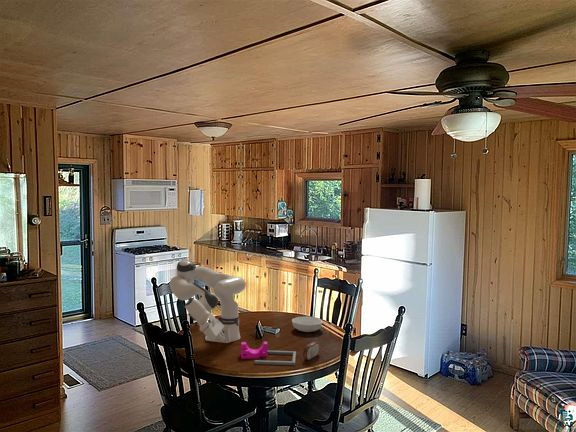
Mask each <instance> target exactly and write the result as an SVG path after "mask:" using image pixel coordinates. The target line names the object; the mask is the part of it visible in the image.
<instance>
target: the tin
mask: <svg viewBox="0 0 576 432" xmlns="http://www.w3.org/2000/svg"><path fill="white" fill-rule="evenodd" d="M319 352H320V343H319V342H318V341H315V340H314V341H311V342H310V343H308V344H306V345H305V346H304V348H303V351H302V357H303V359H304V360H306V361H307V360H309V361H310V360H311V359H313V358H315V357H317V355H318V354H319Z"/></svg>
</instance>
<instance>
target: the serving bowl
mask: <svg viewBox="0 0 576 432" xmlns="http://www.w3.org/2000/svg"><path fill="white" fill-rule="evenodd" d="M291 322H292V326H293V327H294V329H296V330H297V331H298V332H299V331H300V332H304V333H311V332H316V331H318V330H320V328H321V327H322V326H323V325H322V324H323V320H322V319H320V318H318V317H315V316H297V317H295V318H292V319H291Z"/></svg>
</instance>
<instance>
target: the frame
mask: <svg viewBox="0 0 576 432" xmlns="http://www.w3.org/2000/svg"><path fill="white" fill-rule="evenodd" d="M264 352H265V351H264ZM267 355H285V356H286V355H288V356H289V355H290V356H291V355H292V361H288V360H286V361H285V360H261V359H260V360H257V359H255V360H254V364H255V365H277V366H278V365H279V366H296V357H297V351H295V350H294V351H292V350H291V351H290V350H289V351H288V350H268V349H267Z"/></svg>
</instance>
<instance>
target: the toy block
mask: <svg viewBox="0 0 576 432" xmlns="http://www.w3.org/2000/svg"><path fill="white" fill-rule="evenodd" d="M240 344H241V345H240V346H241V347H240V349H241V352H240V359H260V357H268V354H267V350H268V341H263V342H262V345H261V346H260V347H259V348H256V349H254V348H253V349H252V348H250V347H249V346H248V344H247V342H246V341H242V342H241V343H240ZM264 351H265V352H264Z"/></svg>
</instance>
